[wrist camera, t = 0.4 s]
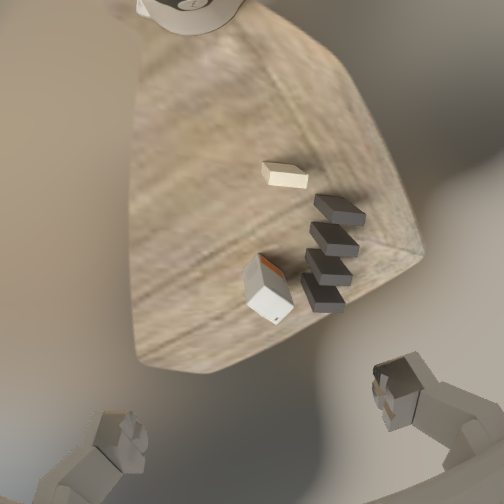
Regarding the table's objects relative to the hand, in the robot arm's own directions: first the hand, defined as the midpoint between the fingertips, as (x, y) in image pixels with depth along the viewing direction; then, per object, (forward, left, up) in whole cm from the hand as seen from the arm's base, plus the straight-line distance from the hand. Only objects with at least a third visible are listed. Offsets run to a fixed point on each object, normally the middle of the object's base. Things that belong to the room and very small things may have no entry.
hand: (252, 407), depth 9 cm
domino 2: (+7, +15, -44) cm, 47 cm away
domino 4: (+16, +12, -44) cm, 48 cm away
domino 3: (+12, +14, -44) cm, 47 cm away
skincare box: (+17, +2, -44) cm, 47 cm away
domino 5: (+21, +11, -44) cm, 50 cm away
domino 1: (0, +7, -44) cm, 44 cm away
